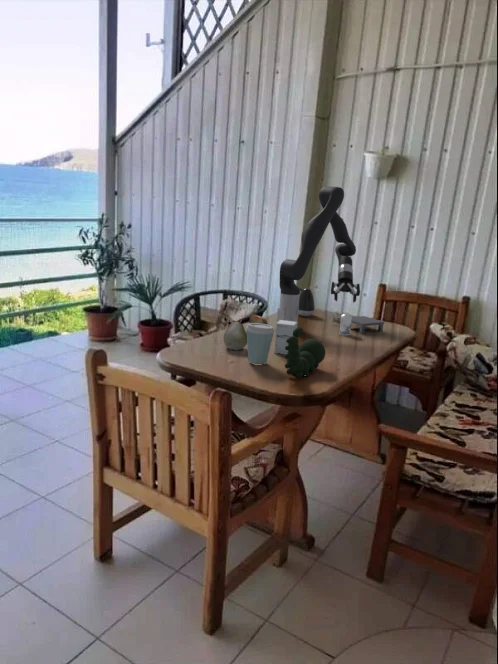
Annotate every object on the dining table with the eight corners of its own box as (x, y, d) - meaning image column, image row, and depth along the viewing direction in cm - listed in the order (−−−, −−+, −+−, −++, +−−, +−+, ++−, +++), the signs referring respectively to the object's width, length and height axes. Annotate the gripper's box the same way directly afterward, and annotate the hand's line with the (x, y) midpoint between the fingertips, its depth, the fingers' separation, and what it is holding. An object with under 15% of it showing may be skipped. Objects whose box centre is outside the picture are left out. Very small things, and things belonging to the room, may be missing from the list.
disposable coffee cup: (255, 357, 196) (258, 319, 193) (278, 363, 190) (280, 325, 186) (238, 362, 188) (240, 323, 185) (260, 369, 182) (263, 329, 178)
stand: (361, 333, 244) (362, 323, 243) (342, 327, 256) (343, 317, 254) (383, 331, 251) (384, 321, 250) (363, 325, 262) (364, 316, 261)
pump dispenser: (304, 312, 287) (306, 286, 283) (317, 316, 279) (320, 289, 275) (291, 314, 280) (293, 287, 276) (305, 318, 273) (307, 290, 269)
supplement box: (273, 353, 203) (275, 322, 200) (278, 349, 210) (280, 319, 207) (291, 356, 201) (294, 325, 198) (295, 351, 208) (297, 321, 205)
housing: (343, 336, 237) (345, 316, 235) (336, 333, 242) (338, 314, 240) (352, 335, 240) (355, 315, 238) (345, 332, 245) (347, 313, 242)
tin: (247, 330, 239) (248, 312, 237) (253, 330, 240) (254, 312, 238) (261, 338, 226) (262, 319, 224) (268, 337, 227) (269, 319, 225)
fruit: (250, 347, 209) (251, 319, 207) (244, 353, 201) (245, 324, 198) (226, 344, 212) (228, 316, 209) (219, 350, 203) (220, 321, 200)
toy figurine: (301, 388, 170) (331, 364, 190) (304, 334, 164) (335, 315, 184) (276, 382, 175) (308, 359, 195) (278, 329, 168) (311, 311, 189)
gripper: (332, 269, 254) (331, 295, 246) (360, 271, 253) (361, 297, 245) (330, 278, 260) (329, 304, 252) (358, 280, 259) (358, 306, 251)
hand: (345, 301), depth 248 cm, fingers open, 8 cm apart
